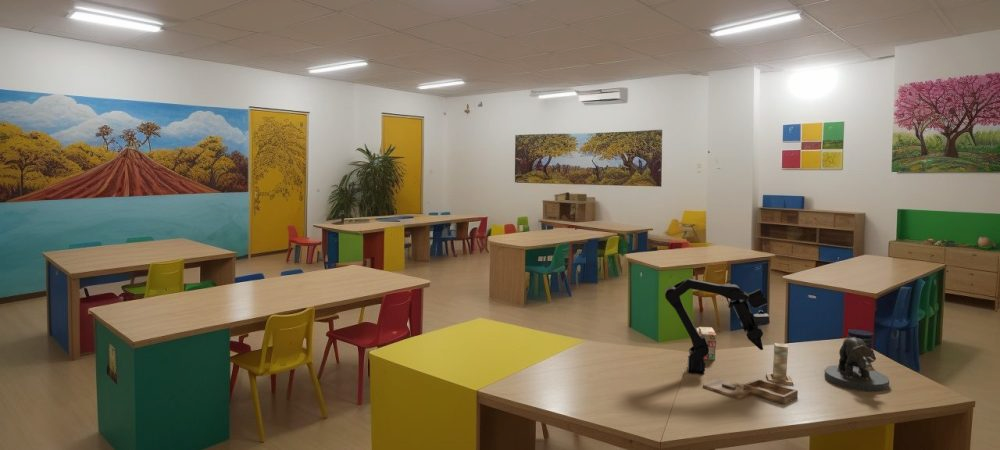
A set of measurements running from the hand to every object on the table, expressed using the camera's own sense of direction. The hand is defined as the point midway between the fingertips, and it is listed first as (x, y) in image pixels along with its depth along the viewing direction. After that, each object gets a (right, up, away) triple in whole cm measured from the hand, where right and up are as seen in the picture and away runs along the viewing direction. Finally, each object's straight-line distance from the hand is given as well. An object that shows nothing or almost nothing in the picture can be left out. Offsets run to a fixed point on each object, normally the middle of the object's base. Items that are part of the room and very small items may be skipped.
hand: (760, 346), depth 250 cm
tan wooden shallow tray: (-4, -15, -18) cm, 24 cm away
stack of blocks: (-12, -10, +34) cm, 37 cm away
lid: (-19, -15, -14) cm, 27 cm away
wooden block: (+7, -14, -2) cm, 15 cm away
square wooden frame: (+7, -14, -2) cm, 15 cm away
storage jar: (+53, -12, +19) cm, 57 cm away
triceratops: (+39, -14, -2) cm, 41 cm away
